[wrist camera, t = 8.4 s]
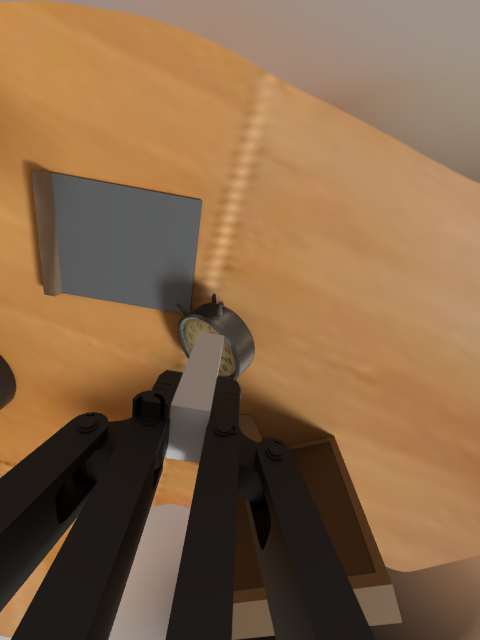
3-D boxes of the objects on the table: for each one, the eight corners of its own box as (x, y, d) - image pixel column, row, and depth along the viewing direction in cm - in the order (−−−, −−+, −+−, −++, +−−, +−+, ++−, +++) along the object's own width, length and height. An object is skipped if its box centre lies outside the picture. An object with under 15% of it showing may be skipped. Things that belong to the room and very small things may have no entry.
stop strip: (53, 290, 42) (44, 294, 40) (42, 171, 36) (31, 169, 34) (63, 292, 42) (54, 296, 40) (54, 173, 36) (43, 171, 34)
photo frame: (338, 453, 52) (408, 651, 29) (227, 474, 55) (209, 668, 32) (322, 388, 47) (390, 565, 24) (201, 416, 50) (156, 596, 27)
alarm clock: (218, 307, 31) (253, 420, 37) (247, 290, 35) (275, 395, 40) (163, 306, 39) (199, 401, 44) (191, 292, 42) (222, 381, 48)
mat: (57, 290, 42) (55, 291, 41) (46, 171, 36) (44, 171, 35) (189, 313, 42) (189, 314, 42) (202, 200, 36) (201, 200, 36)
